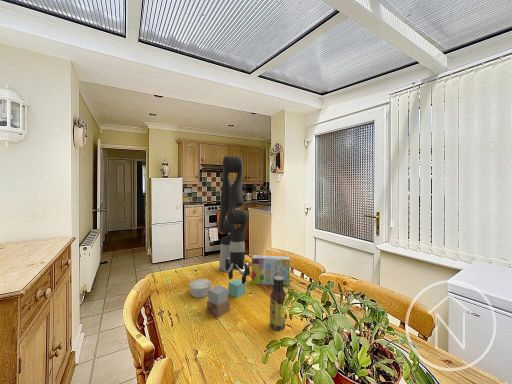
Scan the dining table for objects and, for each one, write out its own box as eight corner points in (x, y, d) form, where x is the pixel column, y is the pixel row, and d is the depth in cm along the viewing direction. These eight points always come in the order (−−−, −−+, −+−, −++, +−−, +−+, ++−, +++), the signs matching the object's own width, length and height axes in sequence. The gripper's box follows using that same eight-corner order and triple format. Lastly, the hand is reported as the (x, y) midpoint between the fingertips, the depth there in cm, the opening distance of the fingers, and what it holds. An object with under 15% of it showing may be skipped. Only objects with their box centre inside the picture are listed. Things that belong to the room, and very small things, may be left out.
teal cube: (228, 294, 116) (228, 282, 116) (236, 290, 121) (236, 278, 121) (237, 298, 113) (237, 286, 113) (245, 293, 118) (245, 282, 118)
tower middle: (208, 301, 100) (208, 289, 100) (218, 295, 105) (218, 285, 105) (217, 305, 97) (217, 294, 97) (227, 300, 102) (227, 288, 101)
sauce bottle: (268, 321, 94) (269, 274, 93) (283, 320, 95) (284, 273, 94) (271, 331, 88) (272, 280, 87) (287, 331, 88) (288, 280, 88)
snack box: (288, 282, 132) (289, 256, 131) (289, 286, 126) (290, 259, 126) (252, 280, 134) (252, 254, 133) (251, 284, 128) (251, 257, 128)
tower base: (206, 312, 100) (207, 301, 100) (218, 305, 106) (218, 295, 106) (218, 318, 96) (218, 306, 96) (229, 310, 102) (229, 299, 102)
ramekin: (206, 300, 110) (206, 289, 110) (184, 297, 113) (184, 287, 112) (214, 289, 121) (214, 279, 121) (195, 287, 124) (195, 277, 123)
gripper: (222, 248, 117) (221, 280, 118) (243, 253, 109) (243, 287, 109) (231, 245, 123) (231, 275, 124) (253, 250, 115) (252, 282, 115)
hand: (237, 281), depth 117 cm, fingers open, 8 cm apart
